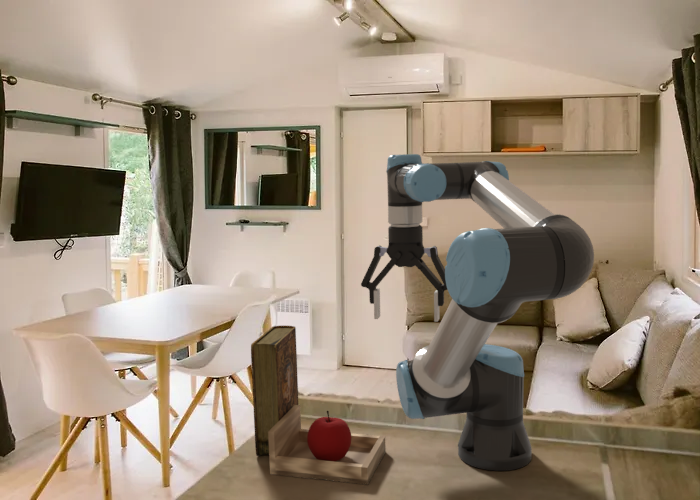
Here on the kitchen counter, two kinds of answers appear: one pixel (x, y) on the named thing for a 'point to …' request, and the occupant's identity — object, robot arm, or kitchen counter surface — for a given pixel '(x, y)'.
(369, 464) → the tray
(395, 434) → the kitchen counter surface
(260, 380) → the book
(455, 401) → the robot arm
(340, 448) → the apple
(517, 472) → the kitchen counter surface
